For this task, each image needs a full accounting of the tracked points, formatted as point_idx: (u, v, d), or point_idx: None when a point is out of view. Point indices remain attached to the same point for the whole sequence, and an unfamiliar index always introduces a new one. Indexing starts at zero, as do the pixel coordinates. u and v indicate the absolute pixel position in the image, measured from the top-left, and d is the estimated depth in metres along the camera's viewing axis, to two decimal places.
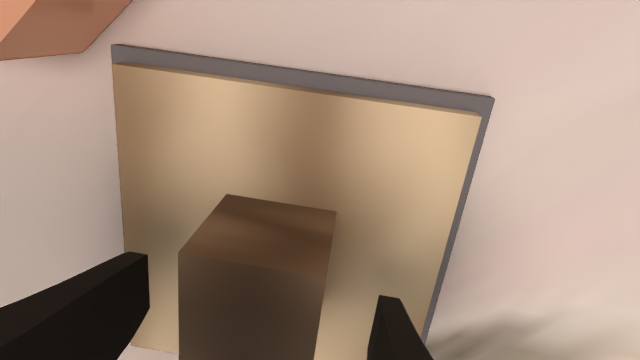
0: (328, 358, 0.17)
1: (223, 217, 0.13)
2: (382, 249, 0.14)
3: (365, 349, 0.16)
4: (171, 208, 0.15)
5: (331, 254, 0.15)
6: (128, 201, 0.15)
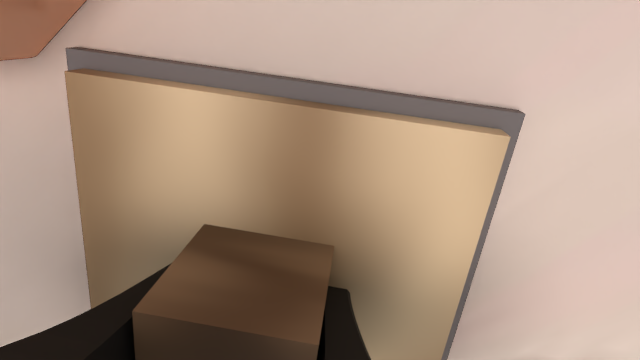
0: None
1: (196, 257, 0.11)
2: (388, 289, 0.12)
3: None
4: (140, 239, 0.13)
5: None
6: (90, 231, 0.13)
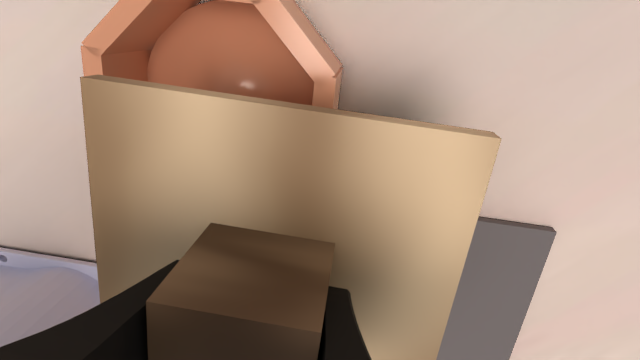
0: None
1: (204, 253, 0.11)
2: (386, 285, 0.13)
3: None
4: (149, 238, 0.13)
5: None
6: (101, 229, 0.13)
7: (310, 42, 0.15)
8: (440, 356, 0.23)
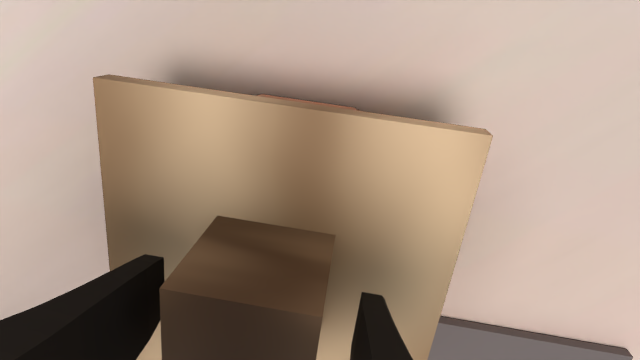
0: None
1: (212, 244, 0.12)
2: (384, 275, 0.13)
3: None
4: (159, 230, 0.14)
5: (329, 279, 0.14)
6: (113, 222, 0.14)
7: None
8: None
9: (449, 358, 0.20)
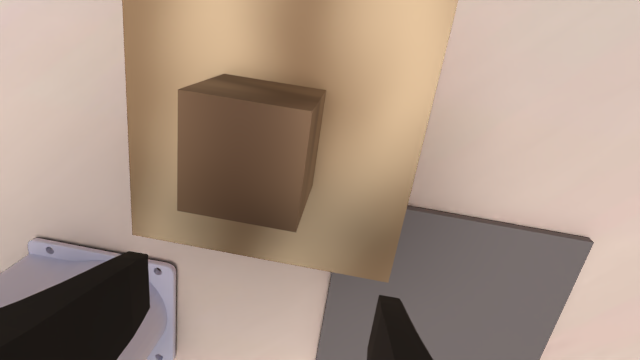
0: (317, 245, 0.18)
1: (220, 81, 0.14)
2: (368, 129, 0.15)
3: (352, 234, 0.17)
4: (172, 89, 0.16)
5: (321, 135, 0.16)
6: (132, 83, 0.16)
7: None
8: (472, 357, 0.24)
9: (429, 247, 0.22)
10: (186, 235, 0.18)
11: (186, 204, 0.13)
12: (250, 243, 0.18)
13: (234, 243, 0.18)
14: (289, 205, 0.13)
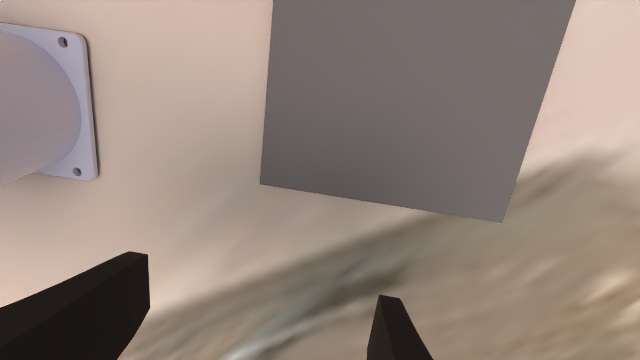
0: None
1: None
2: None
3: None
4: None
5: None
6: None
7: None
8: (449, 137, 0.20)
9: None
10: None
11: None
12: None
13: None
14: None
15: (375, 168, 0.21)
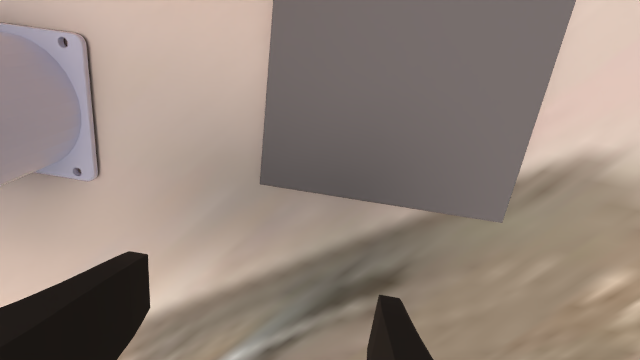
0: None
1: None
2: None
3: None
4: None
5: None
6: None
7: None
8: (449, 137, 0.20)
9: None
10: None
11: None
12: None
13: None
14: None
15: (375, 168, 0.21)
